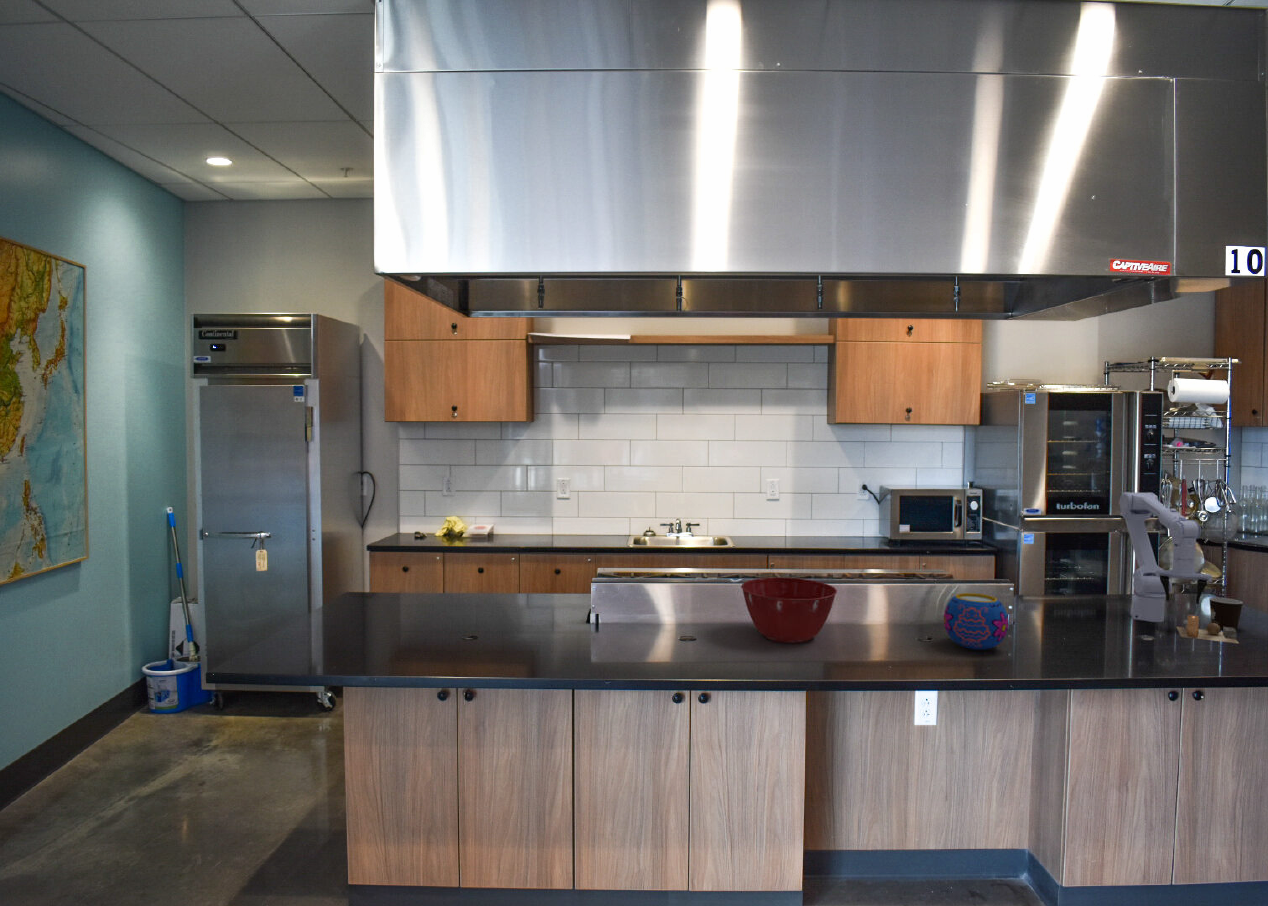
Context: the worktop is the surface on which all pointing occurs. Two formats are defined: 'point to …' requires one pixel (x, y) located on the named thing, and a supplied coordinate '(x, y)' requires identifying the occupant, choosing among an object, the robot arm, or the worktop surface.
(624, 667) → the worktop surface
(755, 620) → the mixing bowl
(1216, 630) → the brown ball
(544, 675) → the worktop surface
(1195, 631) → the lever
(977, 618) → the ceramic pot
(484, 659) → the worktop surface
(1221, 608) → the coffee mug
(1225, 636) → the beige square panel
